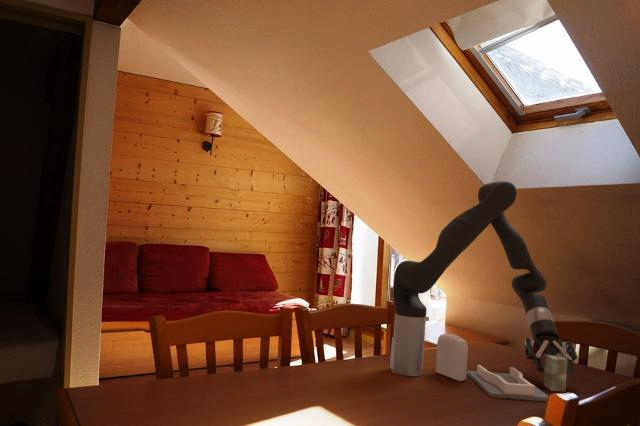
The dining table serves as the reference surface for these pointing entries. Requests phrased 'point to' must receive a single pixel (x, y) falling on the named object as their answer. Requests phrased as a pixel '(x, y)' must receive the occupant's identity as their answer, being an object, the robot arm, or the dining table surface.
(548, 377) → the sage hanger block
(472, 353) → the dining table surface
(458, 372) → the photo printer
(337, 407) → the dining table surface
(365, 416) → the dining table surface
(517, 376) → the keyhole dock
